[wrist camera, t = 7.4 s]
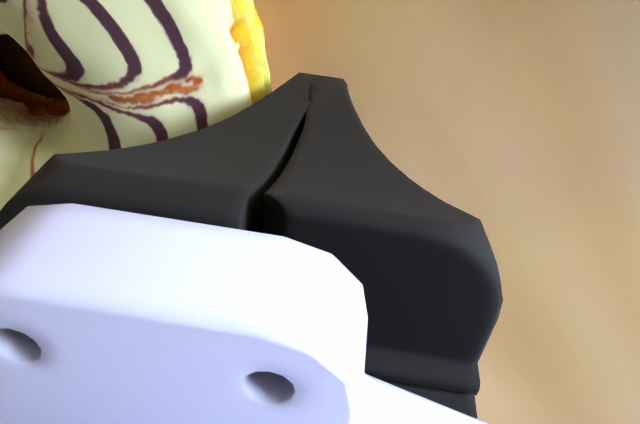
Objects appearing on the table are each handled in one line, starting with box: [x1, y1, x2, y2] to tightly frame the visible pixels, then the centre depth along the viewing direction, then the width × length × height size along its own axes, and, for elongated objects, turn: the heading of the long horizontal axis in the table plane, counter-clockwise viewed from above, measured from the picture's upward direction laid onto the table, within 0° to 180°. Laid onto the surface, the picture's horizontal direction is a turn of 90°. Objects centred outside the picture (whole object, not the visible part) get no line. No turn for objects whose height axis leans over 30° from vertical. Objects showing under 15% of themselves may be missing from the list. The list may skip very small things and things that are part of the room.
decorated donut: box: [0, 0, 272, 211], centre depth 12 cm, size 10×11×4 cm
